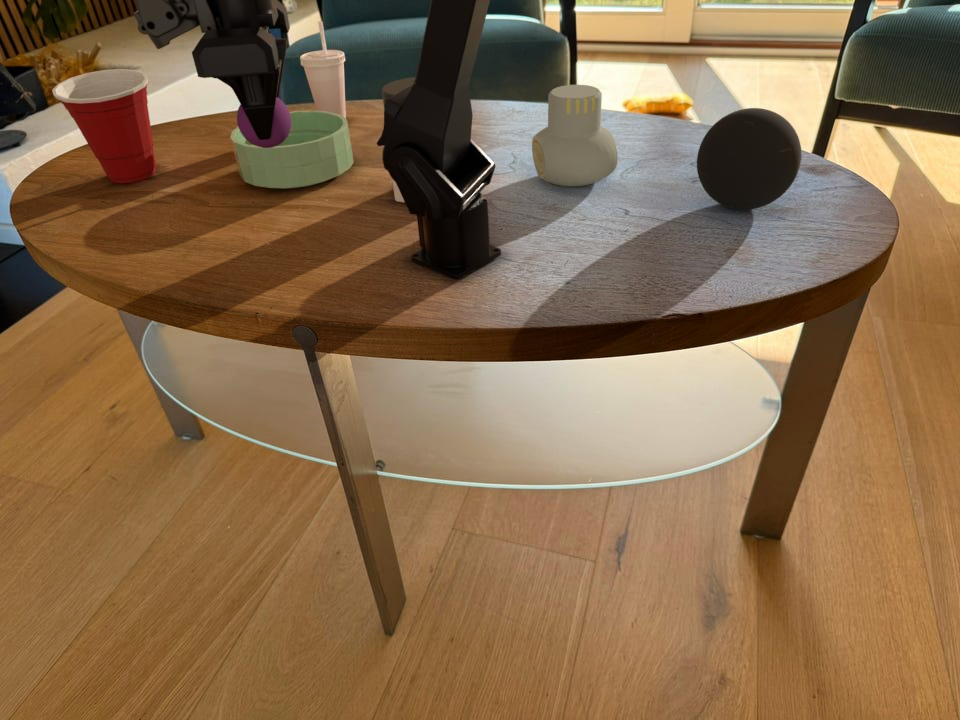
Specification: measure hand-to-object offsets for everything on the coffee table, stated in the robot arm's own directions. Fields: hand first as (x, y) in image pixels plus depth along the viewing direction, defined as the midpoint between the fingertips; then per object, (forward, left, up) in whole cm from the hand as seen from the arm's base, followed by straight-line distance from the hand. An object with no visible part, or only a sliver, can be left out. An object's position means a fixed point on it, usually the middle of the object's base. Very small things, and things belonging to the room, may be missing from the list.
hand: (267, 130), depth 68 cm
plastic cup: (+32, +2, -11) cm, 35 cm away
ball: (0, 0, +1) cm, 1 cm away
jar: (-4, -17, -11) cm, 21 cm away
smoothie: (+27, -27, -11) cm, 40 cm away
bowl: (+15, -12, -11) cm, 23 cm away
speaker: (-34, -34, -11) cm, 49 cm away
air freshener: (-15, -30, -11) cm, 35 cm away
